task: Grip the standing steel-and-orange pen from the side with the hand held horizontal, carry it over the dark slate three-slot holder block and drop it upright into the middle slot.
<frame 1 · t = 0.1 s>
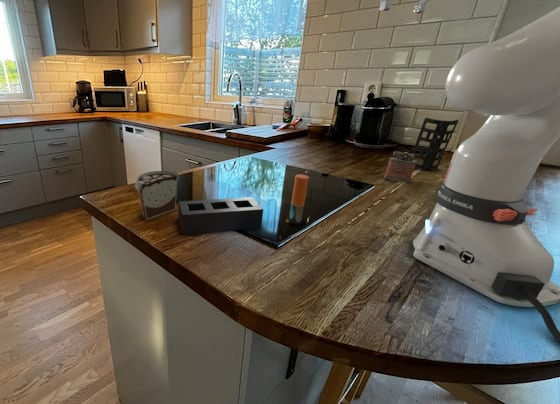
hand: (401, 11, 70), 48 cm above the worktop, tool pointing down, fingers open, 8 cm apart
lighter: (396, 180, 106), on the worktop
canned food: (463, 187, 101), on the worktop
pen holder: (218, 224, 72), on the worktop
holder: (423, 169, 121), on the worktop
pen: (294, 222, 74), on the worktop
food container: (154, 211, 78), on the worktop
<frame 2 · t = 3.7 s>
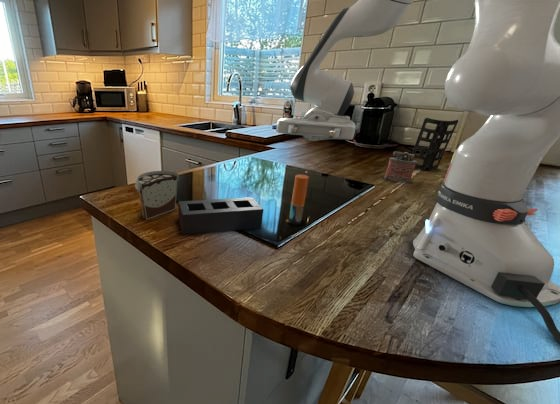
hand: (312, 132, 76), 20 cm above the worktop, tool horizontal, fingers open, 8 cm apart
nothing on the worktop moved.
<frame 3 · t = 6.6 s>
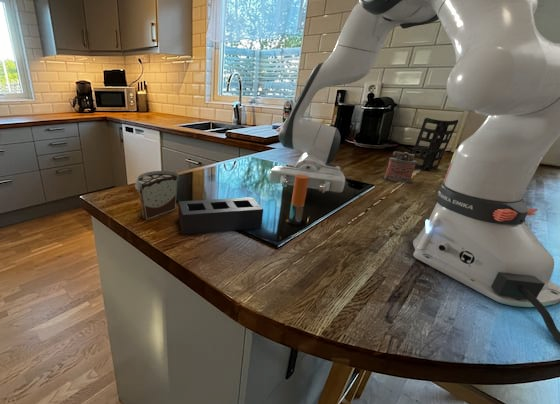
hand: (302, 186, 78), 7 cm above the worktop, tool horizontal, fingers open, 8 cm apart
nothing on the worktop moved.
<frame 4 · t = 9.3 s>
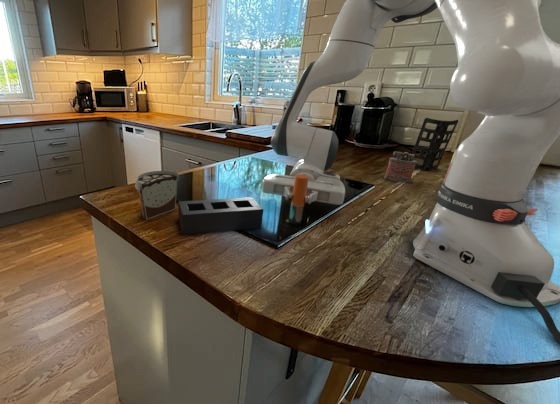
hand: (298, 198, 71), 7 cm above the worktop, tool horizontal, fingers closed on pen, 3 cm apart
pen: (294, 222, 74), on the worktop, touching gripper
everything else where it was.
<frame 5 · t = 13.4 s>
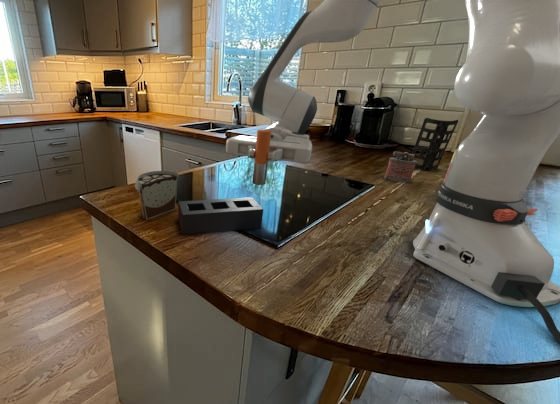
hand: (260, 155, 66), 17 cm above the worktop, tool horizontal, fingers closed on pen, 3 cm apart
pen: (258, 182, 69), point 10 cm above the worktop, touching gripper
everything else where it was.
when the fingers open (8 cm above the worktop, at t = 17.7 s): pen drops 1 cm, resting in pen holder.
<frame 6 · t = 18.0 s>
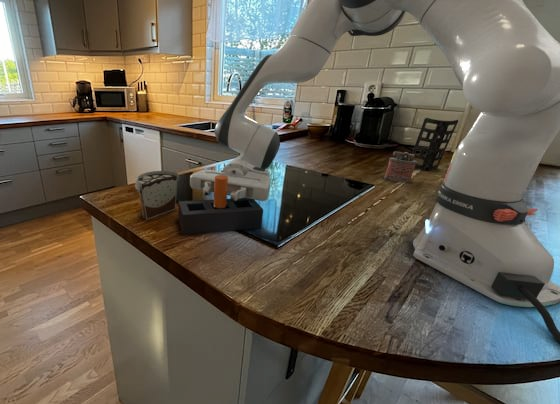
hand: (219, 194, 68), 8 cm above the worktop, tool horizontal, fingers open, 5 cm apart
pen: (219, 224, 72), resting in pen holder
everything else where it was.
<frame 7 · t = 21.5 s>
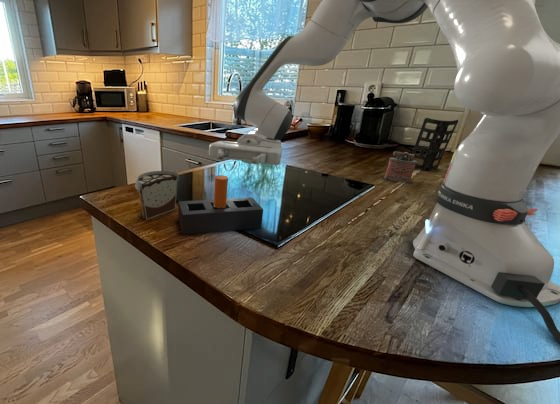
hand: (236, 158, 77), 14 cm above the worktop, tool horizontal, fingers open, 8 cm apart
nothing on the worktop moved.
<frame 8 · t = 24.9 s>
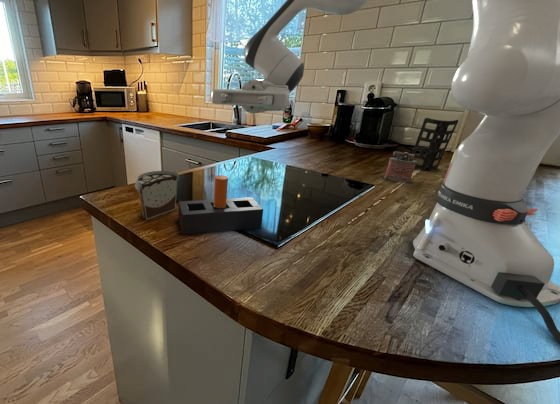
hand: (241, 99, 71), 28 cm above the worktop, tool horizontal, fingers open, 8 cm apart
nothing on the worktop moved.
at the end: pen 0.0 cm off-centre in the pen holder, point 0.0 cm above the pen holder's base; pen tilted 0°; the gripper is holding nothing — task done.
